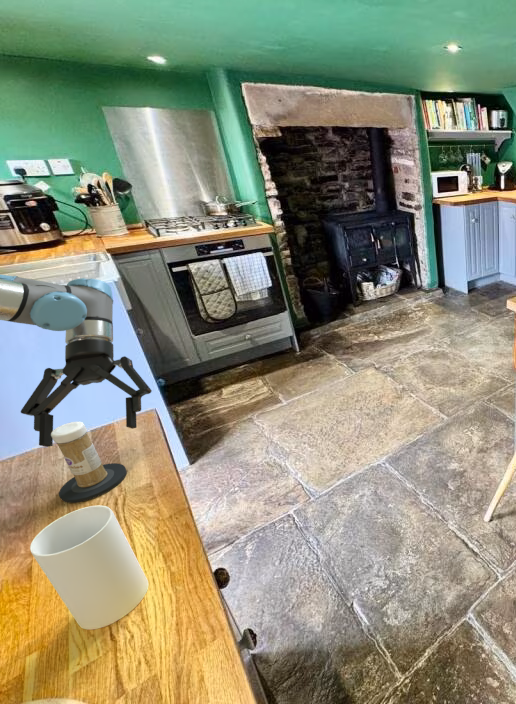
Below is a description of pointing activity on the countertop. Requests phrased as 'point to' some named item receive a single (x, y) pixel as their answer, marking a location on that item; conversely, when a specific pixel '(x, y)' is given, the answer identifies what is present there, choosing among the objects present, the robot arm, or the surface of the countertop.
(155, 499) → the countertop surface
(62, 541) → the cup
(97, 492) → the mat
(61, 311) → the robot arm
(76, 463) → the sprinkles bottle
